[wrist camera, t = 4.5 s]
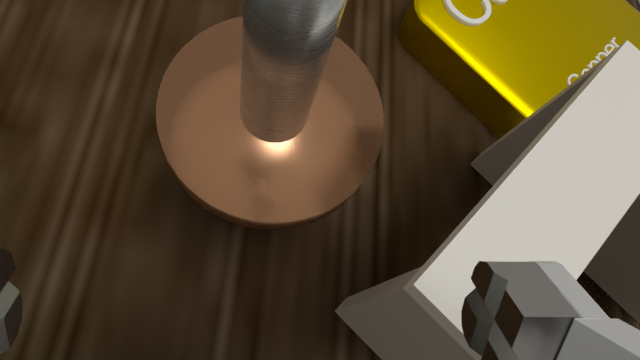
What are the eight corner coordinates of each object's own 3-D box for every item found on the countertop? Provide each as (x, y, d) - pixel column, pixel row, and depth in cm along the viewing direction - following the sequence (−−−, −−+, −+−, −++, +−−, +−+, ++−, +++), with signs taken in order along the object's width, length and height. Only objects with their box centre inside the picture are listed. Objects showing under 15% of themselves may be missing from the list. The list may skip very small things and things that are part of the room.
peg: (256, 299, 32) (340, 147, 7) (150, 188, 33) (-86, -268, 8) (361, 195, 35) (658, -147, 11) (261, 97, 36) (324, -417, 12)
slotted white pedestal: (521, 502, 31) (767, 635, 17) (334, 311, 32) (413, 284, 18) (645, 309, 36) (911, 286, 22) (479, 154, 38) (627, 40, 24)
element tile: (525, 168, 38) (564, 145, 34) (385, 35, 40) (404, -4, 36) (623, 59, 43) (668, 26, 39) (495, -55, 45) (524, -100, 41)
